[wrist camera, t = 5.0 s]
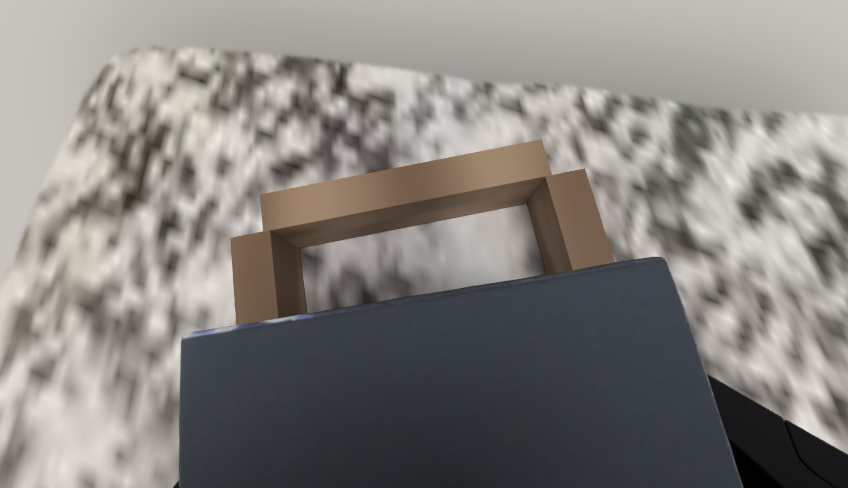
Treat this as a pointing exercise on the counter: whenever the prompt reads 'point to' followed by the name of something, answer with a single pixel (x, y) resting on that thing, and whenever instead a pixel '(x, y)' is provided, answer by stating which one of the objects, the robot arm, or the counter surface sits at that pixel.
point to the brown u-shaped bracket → (413, 218)
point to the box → (461, 391)
